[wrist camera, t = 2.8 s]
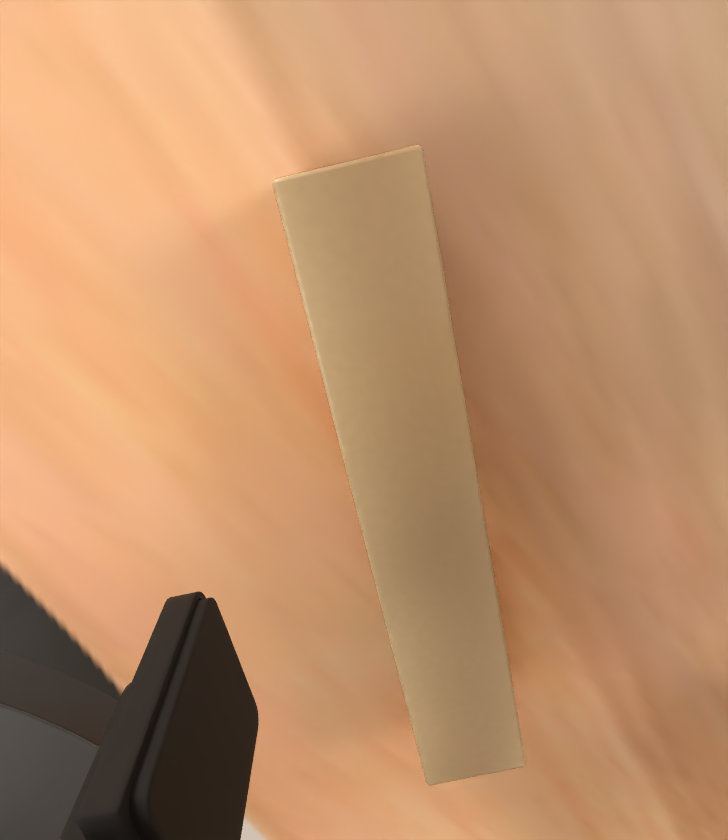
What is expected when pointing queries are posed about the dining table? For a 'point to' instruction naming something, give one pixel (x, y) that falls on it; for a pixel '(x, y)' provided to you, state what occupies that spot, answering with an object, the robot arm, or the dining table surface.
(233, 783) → the robot arm
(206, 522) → the dining table surface
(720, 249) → the dining table surface
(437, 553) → the stick
